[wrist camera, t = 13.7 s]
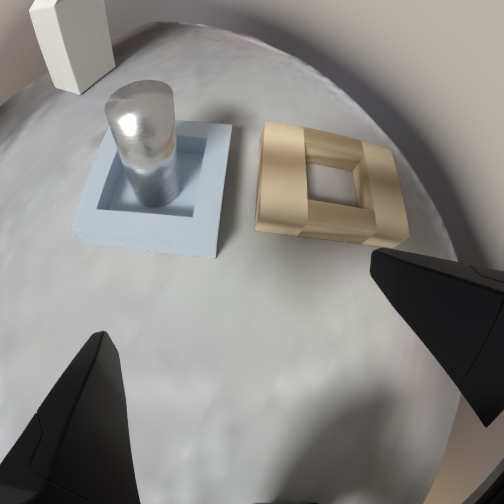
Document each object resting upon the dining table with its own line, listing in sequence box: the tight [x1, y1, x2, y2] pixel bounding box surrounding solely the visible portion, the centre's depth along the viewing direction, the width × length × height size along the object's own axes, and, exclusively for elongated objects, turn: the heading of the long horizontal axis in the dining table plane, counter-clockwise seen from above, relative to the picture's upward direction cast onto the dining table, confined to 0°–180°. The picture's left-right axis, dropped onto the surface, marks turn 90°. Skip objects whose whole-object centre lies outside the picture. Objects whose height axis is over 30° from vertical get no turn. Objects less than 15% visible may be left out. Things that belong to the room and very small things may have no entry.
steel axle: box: [105, 80, 182, 208], centre depth 19 cm, size 4×4×10 cm
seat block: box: [69, 120, 232, 259], centre depth 23 cm, size 12×12×3 cm
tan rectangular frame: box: [254, 121, 410, 248], centre depth 25 cm, size 10×14×3 cm
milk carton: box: [29, 0, 116, 95], centre depth 20 cm, size 7×7×19 cm
